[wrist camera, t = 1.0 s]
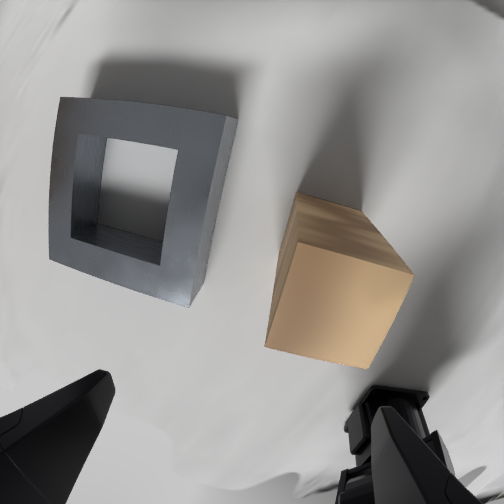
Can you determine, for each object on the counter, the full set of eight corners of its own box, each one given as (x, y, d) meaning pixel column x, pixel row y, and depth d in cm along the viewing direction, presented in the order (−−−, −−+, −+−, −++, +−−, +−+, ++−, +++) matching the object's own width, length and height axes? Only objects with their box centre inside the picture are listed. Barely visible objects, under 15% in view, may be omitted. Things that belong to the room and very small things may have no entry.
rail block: (238, 119, 18) (226, 115, 15) (203, 283, 23) (188, 307, 19) (90, 99, 19) (60, 97, 16) (75, 243, 23) (49, 259, 20)
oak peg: (361, 211, 19) (414, 275, 10) (340, 272, 21) (367, 369, 12) (296, 192, 20) (297, 242, 10) (278, 255, 21) (264, 346, 12)
